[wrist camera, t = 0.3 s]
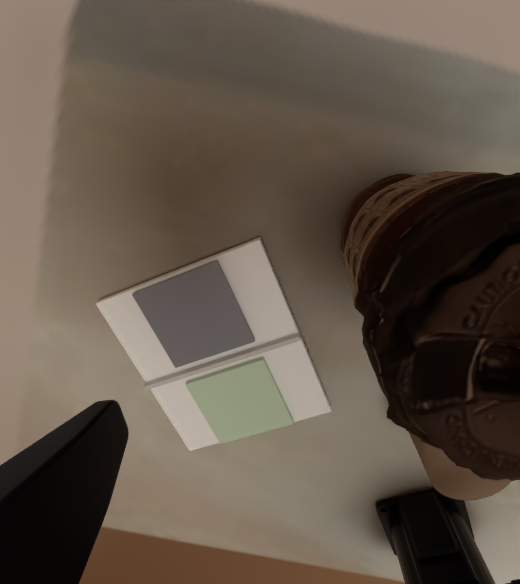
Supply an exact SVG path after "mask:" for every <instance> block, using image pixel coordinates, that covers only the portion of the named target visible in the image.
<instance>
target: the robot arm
mask: <svg viewBox="0 0 520 584" xmlns="http://www.w3.org/2000/svg"><path fill="white" fill-rule="evenodd" d="M127 441H128V427H127V424H126V421H125V419H124V416H123V413H122V411H121V408H120V406H119V403H118V402H117V401H115V400H105V401H98V402H96V403H94V404H92V405H91V406H89V407H88V408H86V409H85V410H83V411H82V412H80V413H79V414H77V415H76V416H74V417H73V418H71V419H70V420H68V421H67V422H65V423H64V424H62V425H61V426H59V427H58V428H56V429H55V430H53V431H52V432H50V433H49V434H47V435H46V436H44V437H43V438H41V439H40V440H38V441H37V442H35V443H34V444H32V445H31V446H29V447H28V448H26V449H24V450H23V451H21V452H20V453H18V454H17V455H15V456H14V457H12V458H11V459H9V460H8V461H7V462H5V463H3V464H2V465H0V584H79V582H80V579H81V577H82V574H83V571H84V569H85V566H86V564H87V561H88V559H89V556H90V554H91V551H92V548H93V546H94V543H95V541H96V538H97V536H98V533H99V530H100V528H101V525H102V523H103V520H104V517H105V515H106V512H107V509H108V506H109V503H110V500H111V497H112V494H113V490H114V486H115V483H116V479H117V476H118V472H119V469H120V465H121V462H122V458H123V455H124V451H125V448H126V444H127ZM375 506H376V510H377V513H378V516H379V518H380V520H381V523H382V525H383V528H384V530H385V532H386V535H387V537H388V540H389V542H390V545H391V547H392V549H393V552H394V554H395V555H397V556H398V560H399V563H400V567H401V570H402V574H403V577H404V581H405V584H495V582H494V580H493V578H492V576H491V574H490V572H489V570H488V567H487V565H486V563H485V561H484V559H483V557H482V555H481V553H480V551H479V549H478V547H477V545H476V543H475V541H474V535H473V532H472V528H471V525H470V521H469V517H468V514H467V510H466V507H465V503H464V500H457V499H452V498H449V497H447V496H444V495H443V494H441V493H439V492H438V491H437V490H436V489H434V490H429V491H425V492H420V493H416V494H411V495H406V496H402V497H397V498H393V499H388V500H384V501H380V502H377V503H376V505H375ZM507 584H520V579H517V580H512V581H511V583H507Z"/></svg>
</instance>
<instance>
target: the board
mask: <svg viewBox="0 0 520 584" xmlns="http://www.w3.org/2000/svg"><path fill="white" fill-rule="evenodd" d="M95 304H96V305H97V307H98V308H99V310H100V312H101V313H102V315H103V316H104V318H105V319H106V321H107V322H108V324H109V326H110V327H111V329H112V330H113V332H114V333H115V335H116V337H117V338H118V340H119V341H120V343H121V344H122V346H123V347H124V349H125V351H126V352H127V354H128V355H129V357H130V358H131V360H132V362H133V363H134V365H135V366H136V368H137V369H138V371H139V372H140V374H141V376H142V377H143V379H144V380H145V382H146V383H145V385H144V389H145V391H146V390H149V389H150V390H151V391H152V393H153V394H154V396H155V397H156V399H157V401H158V402H159V404H160V405H161V407H162V408H163V410H164V412H165V413H166V415H167V416H168V418H169V419H170V421H171V422H172V424H173V426H174V427H175V429H176V430H177V432H178V433H179V435H180V437H181V438H182V440H183V441H184V443H185V444H186V446H187V448H188V449H189V451H192V450H195V449H199V448H202V447H206V446H210V445H213V444H217V443H220V444H223V443H227V442H231V441H234V440H238V439H242V438H245V437H249V436H253V435H256V434H260V433H263V432H267V431H271V430H274V429H278V428H282V427H285V426H289V425H292V424H294V422H296V421H300V420H304V419H307V418H311V417H314V416H318V415H322V414H325V413H329V412H332V411H331V406H330V403H329V401H328V398H327V396H326V394H325V391H324V389H323V386H322V384H321V382H320V379H319V377H318V374H317V372H316V370H315V367H314V365H313V362H312V360H311V358H310V355H309V353H308V350H307V348H306V346H305V343H304V341H303V339H302V336H301V334H300V331H299V329H298V327H297V324H296V322H295V319H294V317H293V315H292V312H291V310H290V307H289V305H288V303H287V300H286V298H285V295H284V293H283V291H282V288H281V286H280V283H279V281H278V279H277V276H276V274H275V271H274V269H273V267H272V264H271V262H270V259H269V257H268V255H267V252H266V250H265V247H264V245H263V243H262V240H261V238H260V237H258V238H256V239H253V240H251V241H248V242H246V243H243V244H241V245H238V246H236V247H233V248H230V249H228V250H225V251H223V252H220V253H218V254H215V255H213V256H210V257H207V258H205V259H202V260H200V261H197V262H195V263H192V264H190V265H187V266H184V267H182V268H179V269H177V270H174V271H172V272H169V273H167V274H164V275H161V276H159V277H156V278H154V279H151V280H149V281H146V282H144V283H141V284H138V285H136V286H133V287H131V288H128V289H126V290H123V291H121V292H118V293H115V294H113V295H110V296H108V297H105V298H103V299H100V300H99V301H98V302H97V303H95Z"/></svg>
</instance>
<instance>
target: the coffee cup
mask: <svg viewBox="0 0 520 584" xmlns="http://www.w3.org/2000/svg"><path fill="white" fill-rule="evenodd" d="M339 247H340V249H341V251H342V255H343V260H344V265H345V267H346V268H347V270H348V273H349V276H350V281H351V287H352V291H353V300H354V306H355V308H356V309H357V310H358V311H359V312H360V313H361V314H362V315H363V316H364V322H363V327H362V333H363V345H364V347H365V349H366V351H367V354H368V357H369V360H370V362H371V365H372V367H373V369H374V371H375V374H376V376H377V379H378V382H379V385H380V387H381V389H382V391H383V393H384V395H385V396H386V398H387V401H388V403H389V407H388V410H387V418H389V419H391V420H392V421H393V422H394V423H395V424H396V425H399V426H401V427H403V428H405V429H406V430H407V431H409V432H410V433H412V434H414V435H415V436H417V437H418V438H420V440H421V441H422V442H424V443H426V444H429V445H431V446H433V447H436V448H439V449H442V450H443V452H444V454H446V455H447V457H448V458H449V459H450V460H451V461H453V462H454V463H455V464H456V466H460V467H463V468H468V469H470V470H471V471H472V472H473V473H474V474H476V475H478V476H479V477H480V478H482V479H491V480H503V479H508V480H511V481H514V480H520V173H515V174H513V175H503V174H499V173H480V172H447V171H446V172H435V173H426V174H422V175H417V176H416V175H409V174H397V175H393V176H390V177H387V178H384V179H381V180H379V181H378V182H376V183H374V184H373V185H371V186H370V187H368V188H367V189H366V190H364V191H363V192H361V193H360V194H359V195H358V196H357V197H356V198H355V200H354V201H353V203H352V204H351V206H350V208H349V209H348V211H347V213H346V215H345V218H344V221H343V224H342V229H341V237H340V245H339Z"/></svg>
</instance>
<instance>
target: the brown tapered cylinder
mask: <svg viewBox="0 0 520 584" xmlns="http://www.w3.org/2000/svg"><path fill="white" fill-rule="evenodd" d="M409 434H410V436H411V438H412V440H413V443H414V445H415V447H416V449H417V452H418V454H419V456H420V458H421V461H422V463H423V465H424V467H425V469H426V472H427V474H428V476H429V478H430V481H431V483H432V485H433V487H434V488H435V489H436V490H437V491H438V492H439V493H441V494H443V495H444V496H447V497H449V498H452V499H457V500H476V499H481V498H485V497H488V496H491V495H493V494H495V493H497V492H499V491H501V490H502V489H504V488H505V487H506V486H507V485H508V484H509V483H510V482H511V480H508V479H503V480H491V479H482V478H480V477H479V476H478V475H476V474H474V473H473V472H472V471H471V470H470V469H468V468H463V467H460V466H456V464H455V463H454V462H453V461H451V460H450V459H449V458H448V457H447V455H446V454H444V452H443V450H442V449H439V448H436V447H433V446H431V445H429V444H426V443H424V442H422V441H421V440H420V438H418V437H417V436H415V435H414V434H412V433H410V432H409Z"/></svg>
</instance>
